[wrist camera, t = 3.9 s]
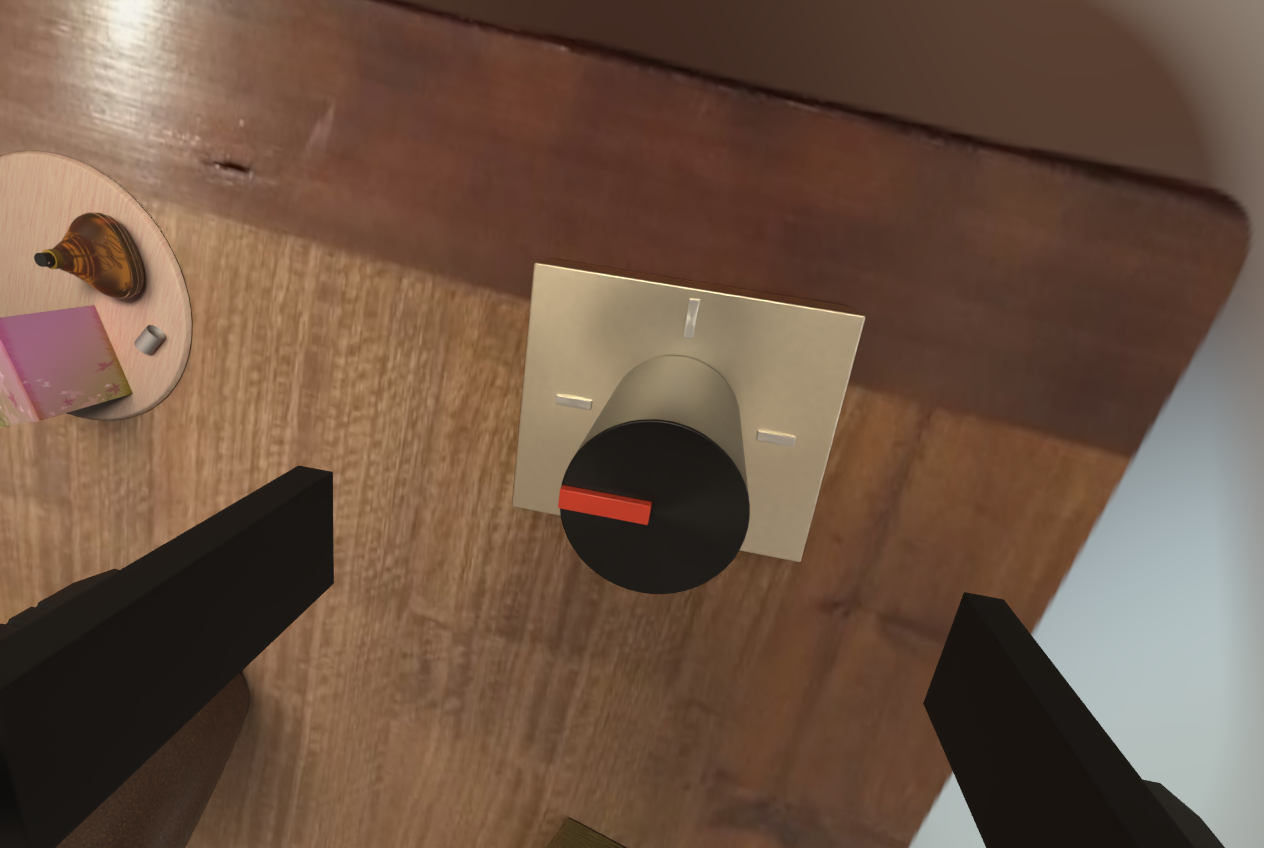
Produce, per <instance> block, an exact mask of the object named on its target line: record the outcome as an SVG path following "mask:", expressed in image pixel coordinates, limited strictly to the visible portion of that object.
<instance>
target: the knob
mask: <svg viewBox="0 0 1264 848" xmlns="http://www.w3.org/2000/svg"><path fill="white" fill-rule="evenodd" d="M558 508H560V515H561V520H562V524H563V527H564V530H565V533H566V535H567V538H568V539H569V541H570V543H571V545H572V547H573V548H574V550H575V551H576V553H577V554H578V555H579V557H580V558H581V559H582V560H583V561H584V562H585V563H586V564H587V565H588V566H589V567H590V568H591V569H592V570H593V571H595V572H596V573H597V574H599V575H600V576H602V577H603V578H604V579H606V580H608V581H610V582H612V583H614V584H616V585H618V586H621V587H623V588H626V589H629V590H633V591H637V592H642V593H649V594H669V593H677V592H682V591H686V590H689V589H692V588H695V587H698V586H700V585H702V584H704V583H706V582H708V581H709V580H711V579H712V578H714V577H715V576H717V575H718V574H719V573H720V572H722V571H723V570H724V569H725V568H726V567H727V566H728V565H729V564H730V563H731V562H732V560H733V559H734V558H735V556H736V555H737V553H738V552H739V550H740V548H741V546H742V544H743V542H744V540H745V537H746V534H747V530H748V526H749V519H750V503H749V493H748V484H747V475H746V466H745V457H744V448H743V439H742V429H741V420H740V412H739V406H738V403H737V399H736V397H735V395H734V392H733V390H732V389H731V387H730V386H729V384H728V383H727V381H726V380H725V379H724V378H723V377H722V376H721V375H720V374H719V373H718V372H717V371H716V370H714V369H713V368H711V367H710V366H708V365H707V364H705V363H703V362H701V361H698V360H695V359H693V358H688V357H683V356H663V357H657V358H654V359H650V360H648V361H646V362H643V363H641V364H640V365H638V366H636V367H635V368H633V369H632V370H631V371H630V372H629V373H627V374H626V376H625V377H624V378H623V379H622V380H621V381H620V383H619V384H618V386H617V387H616V389H615V390H614V392H613V394H612V395H611V397H610V399H609V400H608V402H607V403H606V405H605V407H604V408H603V410H602V411H601V413H600V415H599V416H598V418H597V420H596V421H595V423H594V424H593V426H592V428H591V429H590V431H589V433H588V434H587V436H586V437H585V439H584V441H583V442H582V444H581V445H580V447H579V449H578V450H577V452H576V454H575V455H574V457H573V458H572V460H571V462H570V464H569V466H568V468H567V470H566V472H565V475H564V477H563V480H562V485H561V489H560V493H559V501H558Z"/></svg>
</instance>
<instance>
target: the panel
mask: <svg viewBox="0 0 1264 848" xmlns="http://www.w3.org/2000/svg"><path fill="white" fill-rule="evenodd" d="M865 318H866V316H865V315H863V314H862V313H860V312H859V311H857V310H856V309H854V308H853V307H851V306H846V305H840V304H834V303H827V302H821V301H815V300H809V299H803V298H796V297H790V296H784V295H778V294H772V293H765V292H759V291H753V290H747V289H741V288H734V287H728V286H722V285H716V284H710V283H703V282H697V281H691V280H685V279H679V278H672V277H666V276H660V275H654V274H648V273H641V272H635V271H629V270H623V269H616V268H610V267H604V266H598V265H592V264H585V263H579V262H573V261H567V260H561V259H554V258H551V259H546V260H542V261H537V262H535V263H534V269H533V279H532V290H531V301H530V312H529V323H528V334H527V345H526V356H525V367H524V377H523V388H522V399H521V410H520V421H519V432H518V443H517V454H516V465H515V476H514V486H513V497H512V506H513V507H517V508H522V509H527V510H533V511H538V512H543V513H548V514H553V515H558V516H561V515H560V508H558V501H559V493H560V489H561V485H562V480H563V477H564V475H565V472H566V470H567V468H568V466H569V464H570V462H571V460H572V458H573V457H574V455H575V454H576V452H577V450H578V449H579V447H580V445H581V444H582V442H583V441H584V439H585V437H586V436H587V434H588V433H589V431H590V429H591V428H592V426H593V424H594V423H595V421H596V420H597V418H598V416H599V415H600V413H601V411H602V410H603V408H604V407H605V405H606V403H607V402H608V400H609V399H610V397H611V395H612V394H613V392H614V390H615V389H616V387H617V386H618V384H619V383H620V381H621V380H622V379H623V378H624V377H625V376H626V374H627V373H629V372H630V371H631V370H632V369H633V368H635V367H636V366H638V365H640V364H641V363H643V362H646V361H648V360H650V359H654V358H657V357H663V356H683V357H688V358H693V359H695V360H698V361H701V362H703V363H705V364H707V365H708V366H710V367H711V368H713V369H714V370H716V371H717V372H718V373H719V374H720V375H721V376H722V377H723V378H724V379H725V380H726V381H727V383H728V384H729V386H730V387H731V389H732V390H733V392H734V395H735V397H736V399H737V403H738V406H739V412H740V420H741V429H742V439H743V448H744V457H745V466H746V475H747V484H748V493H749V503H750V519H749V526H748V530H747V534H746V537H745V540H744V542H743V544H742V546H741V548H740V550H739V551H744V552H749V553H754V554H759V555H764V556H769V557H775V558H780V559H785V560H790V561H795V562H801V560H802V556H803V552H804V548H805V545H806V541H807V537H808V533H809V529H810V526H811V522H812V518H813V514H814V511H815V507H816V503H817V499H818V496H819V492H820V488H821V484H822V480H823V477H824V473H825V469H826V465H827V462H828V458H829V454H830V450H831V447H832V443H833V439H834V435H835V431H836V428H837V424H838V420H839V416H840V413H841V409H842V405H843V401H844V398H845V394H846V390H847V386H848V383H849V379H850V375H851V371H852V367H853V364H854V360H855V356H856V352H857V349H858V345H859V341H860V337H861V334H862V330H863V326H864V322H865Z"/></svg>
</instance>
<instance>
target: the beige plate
mask: <svg viewBox="0 0 1264 848" xmlns="http://www.w3.org/2000/svg"><path fill="white" fill-rule="evenodd" d="M191 335H192V321H191V309H190V303H189V297H188V293H187V289H186V285H185V282H184V279H183V276H182V273H181V270H180V267H179V265H178V263H177V261H176V258H175V256H174V254H173V252H172V250H171V248H170V246H169V244H168V243H167V241H166V239H165V238H164V236H163V234H162V233H161V231H160V230H159V228H158V227H157V226H156V224H155V223H154V221H153V220H152V219H151V217H150V216H149V215H148V214H147V213H146V211H145V210H144V209H143V208H142V207H141V206H140V205H139V204H138V203H137V202H136V201H135V200H134V199H133V198H132V197H131V196H130V194H128V193H127V192H126V191H125V190H124V189H123V188H121V187H120V186H119V185H118V184H117V183H115V182H114V181H112V180H111V179H110V178H108V177H107V176H106V175H104V174H102V173H101V172H99V171H97V170H96V169H94V168H92V167H90V166H88V165H86V164H84V163H82V162H80V161H77V160H75V159H72V158H69V157H66V156H63V155H59V154H55V153H49V152H43V151H22V152H15V153H10V154H6V155H3V156H0V428H3V427H9V426H14V425H19V424H25V423H30V422H35V421H41V420H44V419H47V418H51V417H54V416H58V415H61V414H64V413H67V414H71V415H74V416H78V417H82V418H87V419H93V420H120V419H126V418H130V417H134V416H137V415H140V414H142V413H144V412H146V411H148V410H150V409H152V408H153V407H155V406H156V405H158V404H159V403H160V402H161V401H162V400H164V399H165V398H166V397H167V396H168V395H169V393H170V392H171V391H172V390H173V388H174V387H175V385H176V384H177V382H178V381H179V379H180V377H181V375H182V373H183V371H184V368H185V365H186V362H187V359H188V355H189V350H190V344H191Z"/></svg>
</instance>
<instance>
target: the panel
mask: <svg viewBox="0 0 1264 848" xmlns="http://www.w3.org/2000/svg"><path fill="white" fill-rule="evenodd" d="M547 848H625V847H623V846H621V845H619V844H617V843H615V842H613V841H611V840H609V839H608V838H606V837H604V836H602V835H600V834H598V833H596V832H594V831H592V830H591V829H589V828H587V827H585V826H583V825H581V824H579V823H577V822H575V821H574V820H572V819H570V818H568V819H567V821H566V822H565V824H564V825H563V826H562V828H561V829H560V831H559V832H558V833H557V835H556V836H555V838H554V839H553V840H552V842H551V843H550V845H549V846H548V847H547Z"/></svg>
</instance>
